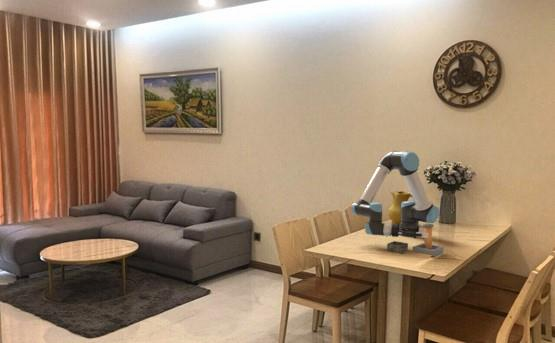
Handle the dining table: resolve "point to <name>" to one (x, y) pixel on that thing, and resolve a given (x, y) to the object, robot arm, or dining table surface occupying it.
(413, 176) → the robot arm
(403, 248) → the grey square socket
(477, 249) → the dining table surface
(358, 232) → the dining table surface
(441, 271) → the dining table surface
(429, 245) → the lock pin
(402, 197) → the pitcher
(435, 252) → the tray
